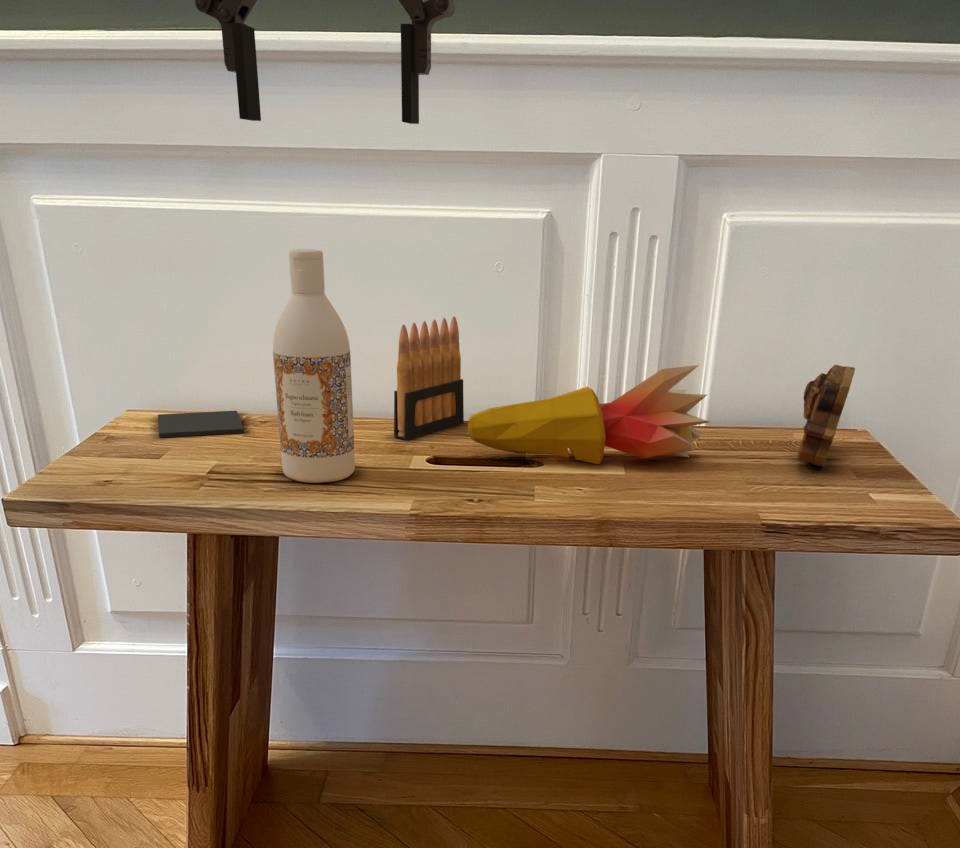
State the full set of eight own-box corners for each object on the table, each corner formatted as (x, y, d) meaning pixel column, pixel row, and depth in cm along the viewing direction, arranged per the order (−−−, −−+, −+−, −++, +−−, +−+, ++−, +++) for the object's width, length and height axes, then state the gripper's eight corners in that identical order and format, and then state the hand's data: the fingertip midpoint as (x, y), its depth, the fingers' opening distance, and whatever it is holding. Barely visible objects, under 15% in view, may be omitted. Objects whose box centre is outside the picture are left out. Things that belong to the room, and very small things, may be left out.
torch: (474, 488, 97) (707, 459, 97) (474, 473, 89) (727, 442, 89) (465, 412, 97) (697, 383, 97) (464, 390, 89) (716, 359, 89)
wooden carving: (792, 441, 103) (808, 350, 99) (834, 445, 102) (853, 353, 98) (790, 481, 89) (809, 377, 85) (839, 486, 88) (861, 381, 84)
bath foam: (270, 481, 86) (250, 251, 77) (299, 461, 92) (284, 246, 83) (340, 487, 84) (328, 254, 75) (365, 467, 90) (357, 249, 81)
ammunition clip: (406, 440, 100) (404, 326, 94) (393, 437, 101) (391, 324, 95) (464, 422, 108) (465, 316, 102) (451, 420, 109) (452, 314, 103)
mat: (159, 437, 99) (158, 433, 98) (158, 418, 106) (157, 414, 106) (244, 432, 101) (243, 428, 101) (237, 414, 109) (236, 410, 109)
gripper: (495, -208, 66) (487, 126, 76) (174, -197, 70) (205, 121, 79) (477, -252, 59) (471, 121, 69) (124, -237, 63) (164, 115, 73)
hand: (329, 122), depth 74 cm, fingers open, 13 cm apart
